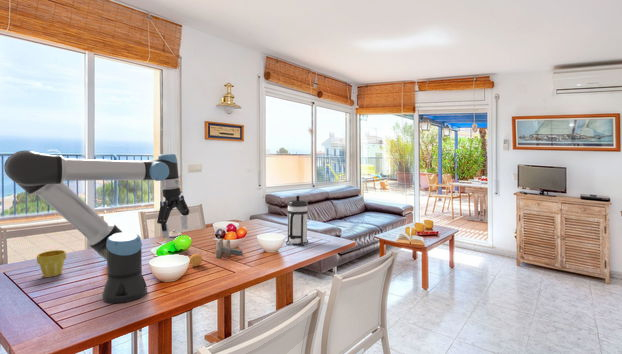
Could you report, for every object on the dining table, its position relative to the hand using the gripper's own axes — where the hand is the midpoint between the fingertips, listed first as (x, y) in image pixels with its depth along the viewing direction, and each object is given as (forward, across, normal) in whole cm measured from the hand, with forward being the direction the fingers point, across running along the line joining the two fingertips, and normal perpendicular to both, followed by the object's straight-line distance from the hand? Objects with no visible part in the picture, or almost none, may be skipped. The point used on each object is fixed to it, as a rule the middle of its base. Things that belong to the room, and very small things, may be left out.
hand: (176, 233), depth 158 cm
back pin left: (+21, +28, -5) cm, 35 cm away
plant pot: (+14, -21, +50) cm, 56 cm away
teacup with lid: (+20, +28, +25) cm, 42 cm away
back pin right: (+21, +27, -10) cm, 35 cm away
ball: (+16, +8, -4) cm, 18 cm away
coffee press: (+26, +61, -39) cm, 76 cm away
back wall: (+21, +32, -9) cm, 39 cm away
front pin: (+20, +23, -7) cm, 32 cm away
